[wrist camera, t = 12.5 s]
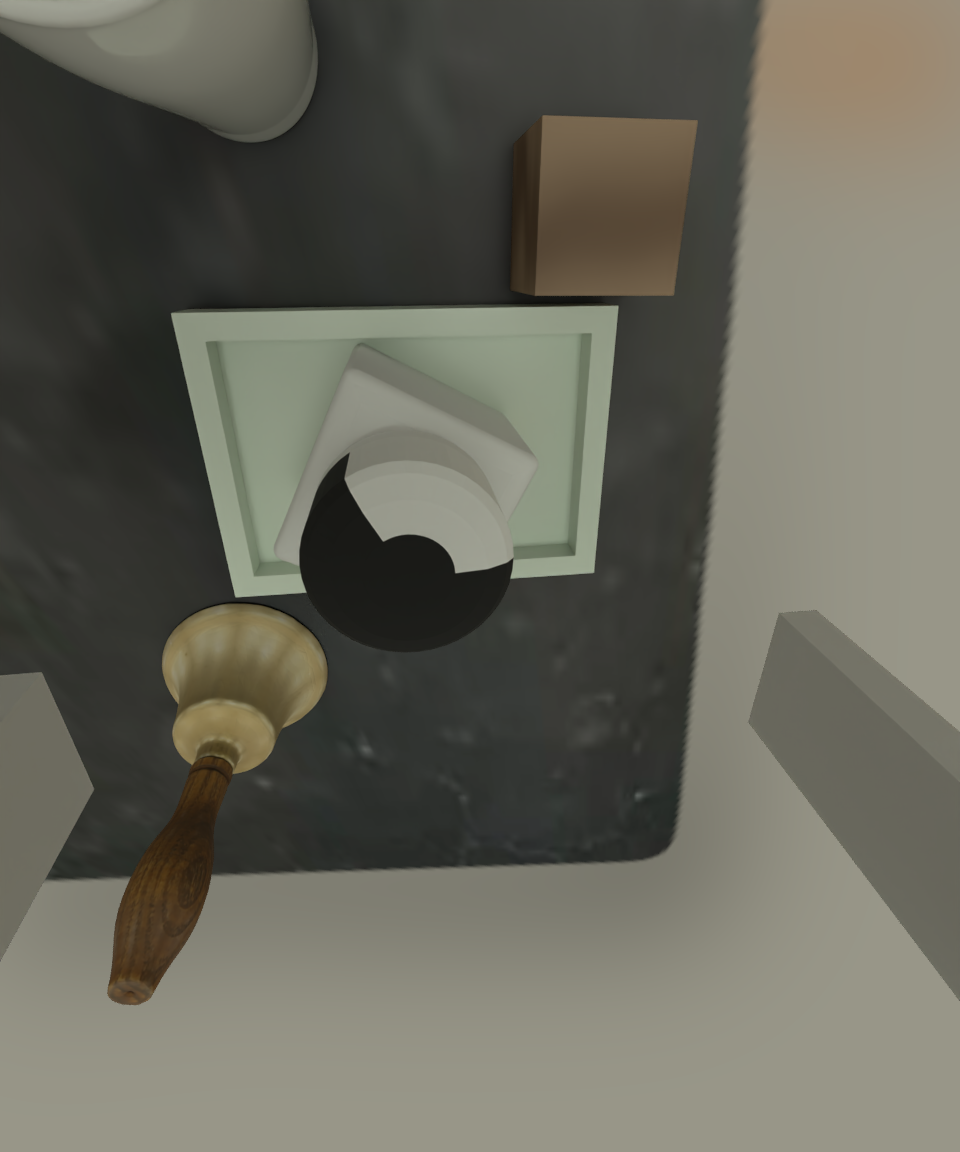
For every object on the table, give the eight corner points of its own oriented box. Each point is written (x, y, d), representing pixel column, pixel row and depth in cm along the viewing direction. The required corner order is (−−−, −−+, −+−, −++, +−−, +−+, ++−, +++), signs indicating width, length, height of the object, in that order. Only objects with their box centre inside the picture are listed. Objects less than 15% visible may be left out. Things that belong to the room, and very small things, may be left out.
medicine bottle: (439, 548, 29) (466, 709, 19) (297, 490, 27) (236, 636, 16) (508, 415, 27) (585, 515, 16) (357, 338, 24) (332, 396, 14)
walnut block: (513, 143, 23) (542, 115, 18) (639, 147, 23) (697, 120, 19) (509, 290, 25) (535, 295, 21) (625, 289, 26) (673, 295, 21)
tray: (187, 309, 24) (170, 312, 22) (602, 302, 26) (618, 305, 24) (244, 577, 29) (235, 597, 27) (582, 555, 31) (593, 572, 29)
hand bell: (300, 743, 35) (239, 1072, 21) (147, 707, 32) (-41, 1053, 18) (349, 630, 31) (316, 925, 17) (184, 579, 29) (-9, 877, 15)
